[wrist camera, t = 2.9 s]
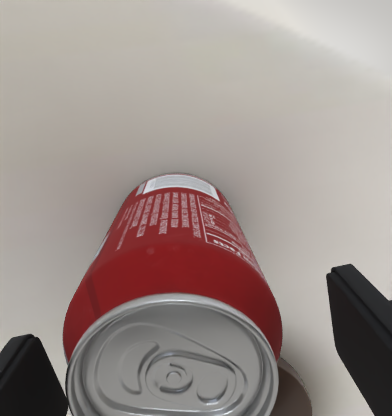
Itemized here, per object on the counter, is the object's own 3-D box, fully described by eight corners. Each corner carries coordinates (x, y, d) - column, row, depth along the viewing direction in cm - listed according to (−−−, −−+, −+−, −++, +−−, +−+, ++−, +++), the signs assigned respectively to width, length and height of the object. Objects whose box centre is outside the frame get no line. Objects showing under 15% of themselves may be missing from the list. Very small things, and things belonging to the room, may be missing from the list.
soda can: (138, 153, 19) (75, 238, 7) (250, 192, 20) (348, 319, 8) (105, 259, 21) (14, 457, 9) (209, 289, 22) (244, 502, 10)
